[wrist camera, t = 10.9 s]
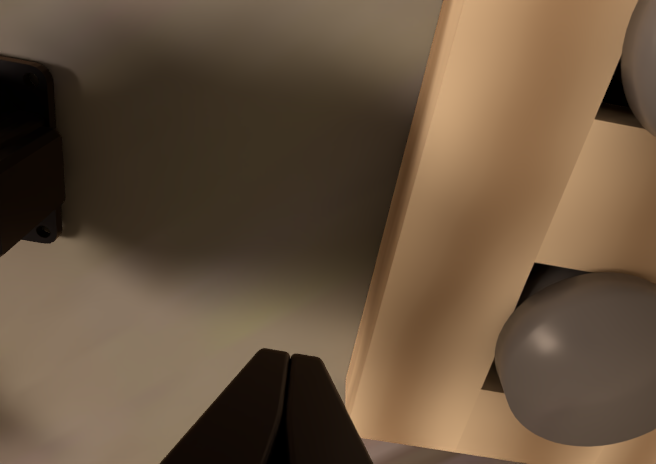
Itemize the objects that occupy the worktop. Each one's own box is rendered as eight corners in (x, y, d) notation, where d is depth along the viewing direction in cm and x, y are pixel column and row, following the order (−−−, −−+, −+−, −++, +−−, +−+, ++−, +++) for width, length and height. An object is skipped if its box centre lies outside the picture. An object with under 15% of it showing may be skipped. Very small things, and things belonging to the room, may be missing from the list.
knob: (456, 343, 22) (480, 431, 18) (504, 212, 19) (545, 282, 15) (597, 366, 22) (652, 458, 18) (666, 241, 19) (747, 317, 15)
